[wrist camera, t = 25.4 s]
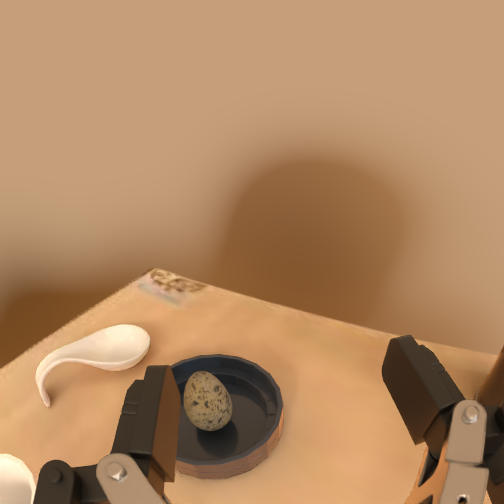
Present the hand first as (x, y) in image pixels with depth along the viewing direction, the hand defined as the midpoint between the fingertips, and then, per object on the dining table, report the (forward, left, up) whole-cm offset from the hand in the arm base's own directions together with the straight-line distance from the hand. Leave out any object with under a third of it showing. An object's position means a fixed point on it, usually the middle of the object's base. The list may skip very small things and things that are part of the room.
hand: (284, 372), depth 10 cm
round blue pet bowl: (+7, -16, -27) cm, 32 cm away
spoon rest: (+28, -26, -28) cm, 47 cm away
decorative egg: (+7, -16, -27) cm, 32 cm away
